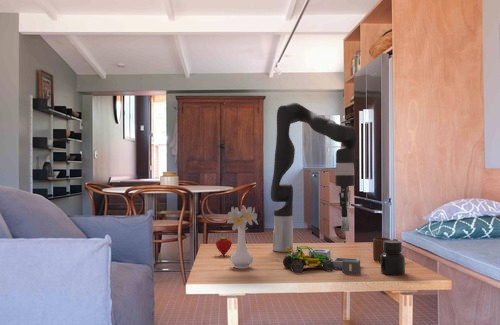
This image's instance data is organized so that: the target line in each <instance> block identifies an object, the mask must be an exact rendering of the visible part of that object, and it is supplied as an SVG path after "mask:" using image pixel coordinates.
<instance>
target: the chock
mask: <svg viewBox="0 0 500 325" xmlns="http://www.w3.org/2000/svg"><path fill="white" fill-rule="evenodd" d="M342 264H343V269H342V274H350V275H359V274H360V273H361V260H360V261H356V260H344V261H343V262H342Z"/></svg>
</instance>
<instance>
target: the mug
mask: <svg viewBox="0 0 500 325" xmlns="http://www.w3.org/2000/svg"><path fill="white" fill-rule="evenodd" d="M372 240H373V241H372V258H373V261H374V262H379V263H381V255H382V254H383V253H384V252H385V251H383V250H384V249H383V241H387V240H393V241H399V240H398V239H396V238H392V239H391V238H388V237H374V238H372Z"/></svg>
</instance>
